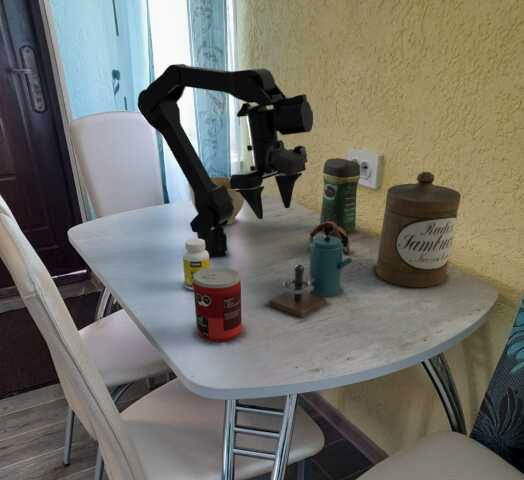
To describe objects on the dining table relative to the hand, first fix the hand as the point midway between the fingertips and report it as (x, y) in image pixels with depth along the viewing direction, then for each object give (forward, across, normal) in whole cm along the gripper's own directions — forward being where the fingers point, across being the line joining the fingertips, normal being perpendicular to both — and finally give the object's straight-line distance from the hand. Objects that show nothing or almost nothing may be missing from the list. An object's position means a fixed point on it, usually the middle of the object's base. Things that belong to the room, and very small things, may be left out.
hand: (274, 213), depth 111 cm
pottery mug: (+14, +16, -2) cm, 21 cm away
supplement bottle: (+10, -20, +6) cm, 24 cm away
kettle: (+14, -9, -16) cm, 24 cm away
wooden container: (+17, +15, -24) cm, 33 cm away
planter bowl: (+7, +14, +35) cm, 38 cm away
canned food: (+13, -32, -12) cm, 36 cm away
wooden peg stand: (+14, -14, -15) cm, 25 cm away
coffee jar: (+13, +30, +5) cm, 33 cm away
